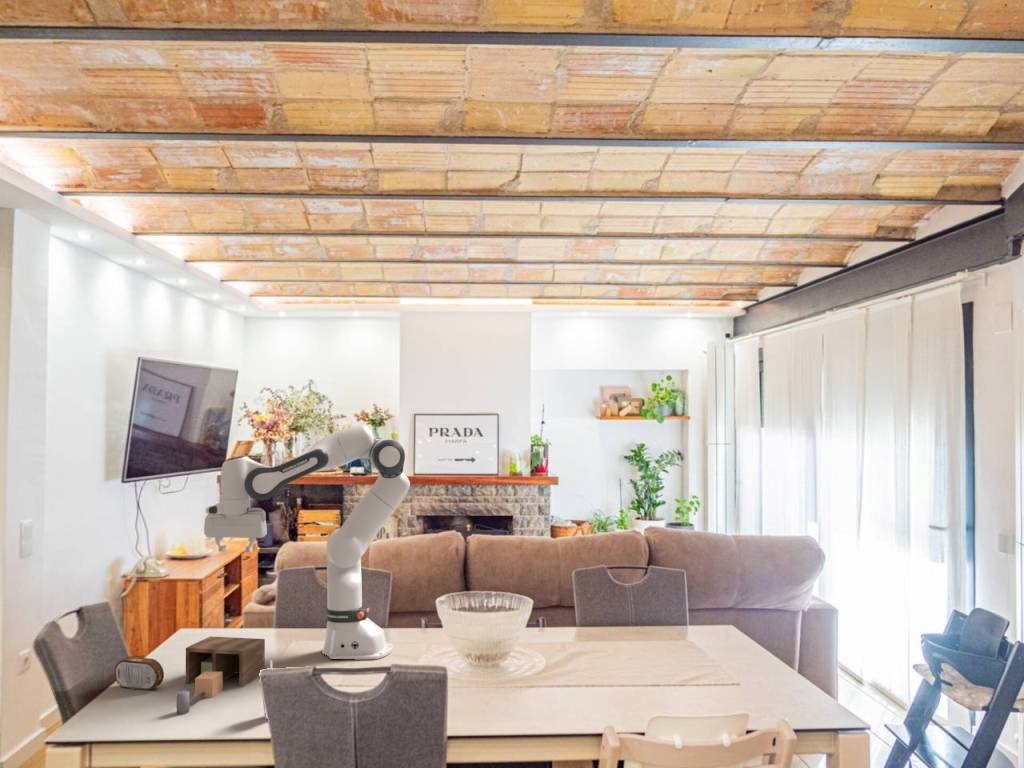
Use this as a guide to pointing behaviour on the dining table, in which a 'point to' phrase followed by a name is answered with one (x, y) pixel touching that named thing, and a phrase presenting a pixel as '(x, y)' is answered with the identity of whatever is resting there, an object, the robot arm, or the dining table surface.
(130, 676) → the tin
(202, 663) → the green block
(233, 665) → the shelf unit
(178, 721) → the dining table surface
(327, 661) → the dining table surface
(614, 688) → the dining table surface
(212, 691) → the pull block
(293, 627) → the dining table surface
